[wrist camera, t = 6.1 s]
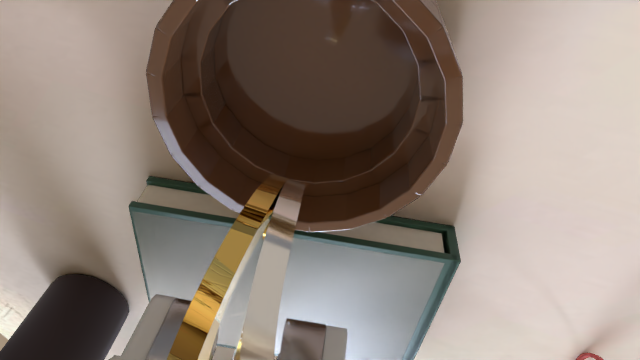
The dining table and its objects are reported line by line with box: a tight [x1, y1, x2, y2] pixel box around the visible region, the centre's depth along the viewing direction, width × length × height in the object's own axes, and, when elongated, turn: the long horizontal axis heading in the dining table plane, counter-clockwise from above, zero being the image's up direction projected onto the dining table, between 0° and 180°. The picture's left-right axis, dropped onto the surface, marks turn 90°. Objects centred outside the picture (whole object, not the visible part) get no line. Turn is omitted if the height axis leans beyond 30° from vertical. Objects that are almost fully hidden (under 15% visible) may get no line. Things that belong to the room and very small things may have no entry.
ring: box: [167, 174, 305, 360], centre depth 11 cm, size 7×3×8 cm, turn 166°
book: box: [129, 176, 461, 360], centre depth 31 cm, size 20×14×3 cm
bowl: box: [146, 0, 463, 232], centre depth 21 cm, size 13×13×5 cm
